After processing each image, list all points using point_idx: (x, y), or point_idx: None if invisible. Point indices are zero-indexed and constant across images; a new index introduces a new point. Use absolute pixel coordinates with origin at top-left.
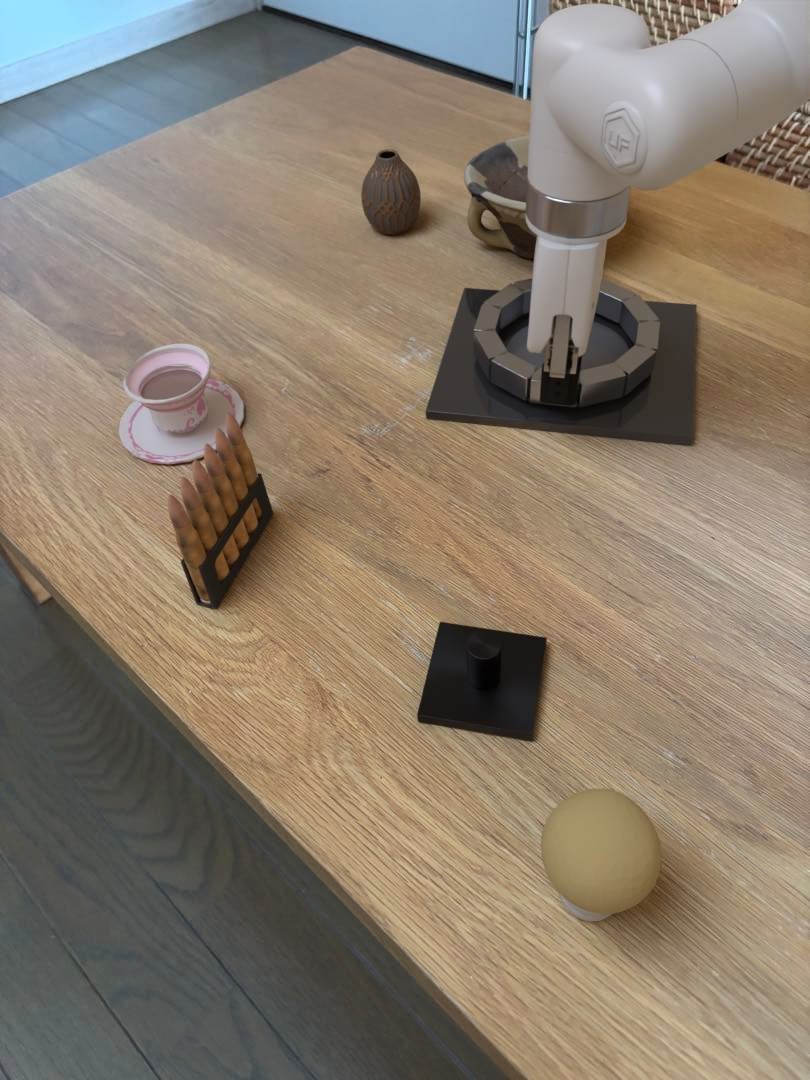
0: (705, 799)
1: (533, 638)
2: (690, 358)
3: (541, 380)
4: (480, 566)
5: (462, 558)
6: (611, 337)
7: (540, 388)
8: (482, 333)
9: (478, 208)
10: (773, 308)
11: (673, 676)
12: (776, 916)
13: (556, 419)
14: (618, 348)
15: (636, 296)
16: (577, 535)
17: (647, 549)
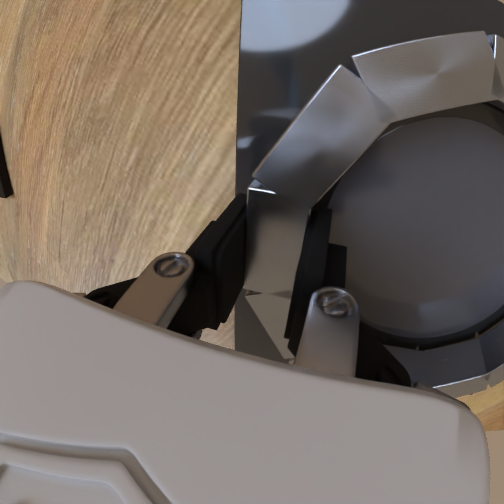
0: (10, 265)
1: (2, 189)
2: None
3: (215, 222)
4: (32, 127)
5: (33, 106)
6: (462, 320)
7: (226, 208)
8: (480, 54)
9: None
10: None
11: (36, 267)
12: (3, 275)
13: None
14: (433, 326)
15: (484, 387)
16: (84, 218)
17: (97, 276)
